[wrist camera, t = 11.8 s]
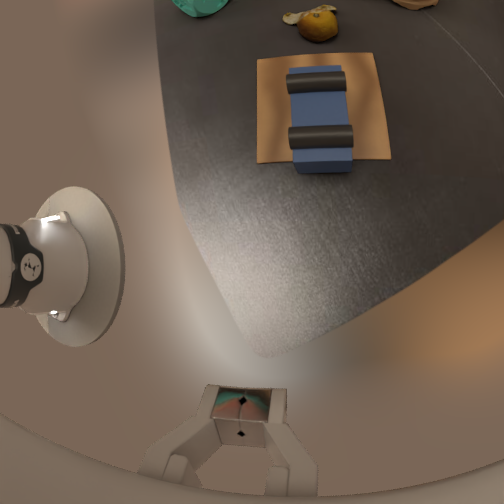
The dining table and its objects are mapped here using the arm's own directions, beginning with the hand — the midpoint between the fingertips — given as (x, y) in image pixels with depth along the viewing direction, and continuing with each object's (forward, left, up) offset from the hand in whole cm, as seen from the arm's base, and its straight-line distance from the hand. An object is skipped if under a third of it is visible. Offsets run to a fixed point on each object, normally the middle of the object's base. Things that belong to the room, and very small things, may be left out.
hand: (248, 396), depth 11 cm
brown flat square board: (+2, +25, -24) cm, 35 cm away
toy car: (+2, +15, -21) cm, 26 cm away
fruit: (+3, +40, -24) cm, 47 cm away
